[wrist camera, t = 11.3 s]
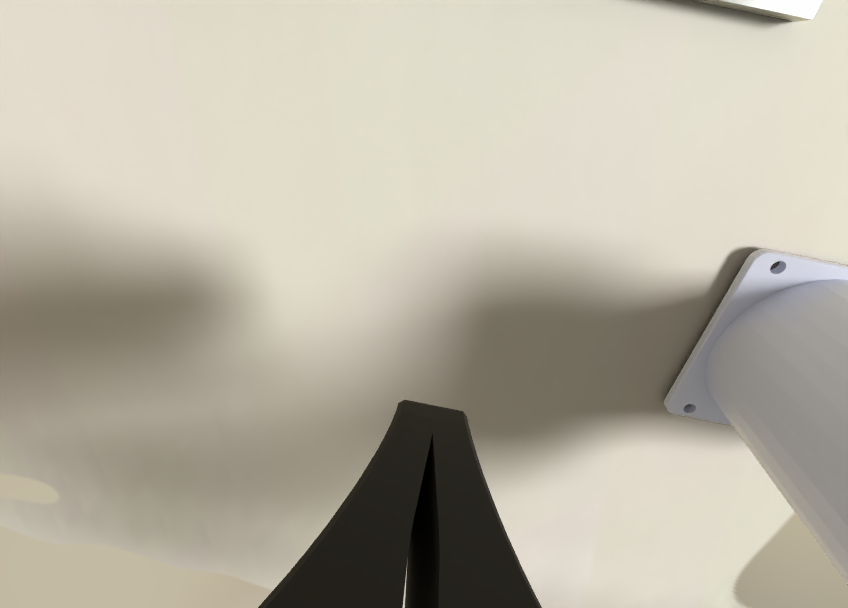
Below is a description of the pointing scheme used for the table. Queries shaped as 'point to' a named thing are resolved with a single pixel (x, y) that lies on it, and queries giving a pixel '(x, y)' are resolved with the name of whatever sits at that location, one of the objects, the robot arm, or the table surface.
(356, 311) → the table surface
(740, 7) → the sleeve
